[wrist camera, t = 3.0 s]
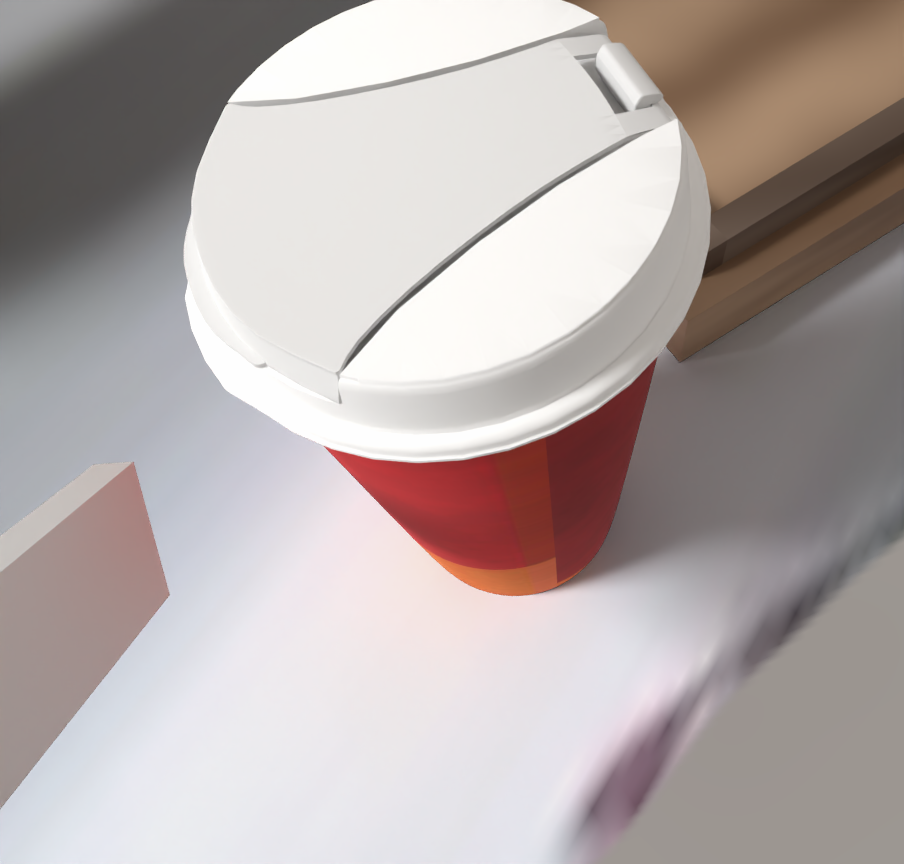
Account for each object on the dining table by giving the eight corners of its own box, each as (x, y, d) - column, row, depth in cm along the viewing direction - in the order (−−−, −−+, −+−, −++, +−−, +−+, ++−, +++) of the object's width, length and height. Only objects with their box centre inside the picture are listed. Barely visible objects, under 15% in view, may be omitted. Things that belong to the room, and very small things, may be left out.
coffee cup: (575, 343, 27) (557, -109, 14) (704, 564, 24) (853, 248, 10) (345, 448, 27) (93, 94, 13) (439, 686, 23) (225, 532, 10)
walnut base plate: (433, 79, 33) (415, -2, 30) (756, -105, 34) (773, -202, 31) (680, 362, 26) (692, 298, 23) (1070, 118, 28) (1136, 25, 24)
